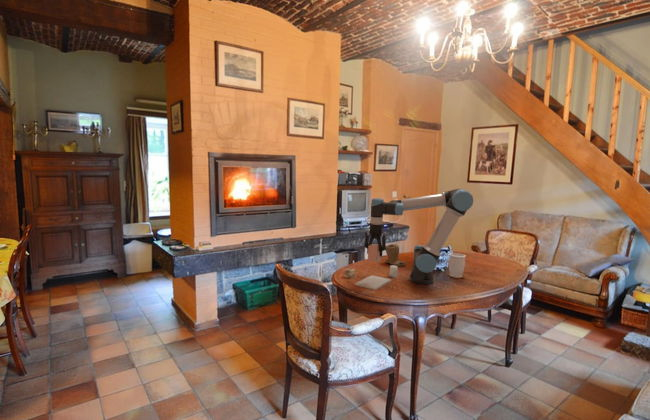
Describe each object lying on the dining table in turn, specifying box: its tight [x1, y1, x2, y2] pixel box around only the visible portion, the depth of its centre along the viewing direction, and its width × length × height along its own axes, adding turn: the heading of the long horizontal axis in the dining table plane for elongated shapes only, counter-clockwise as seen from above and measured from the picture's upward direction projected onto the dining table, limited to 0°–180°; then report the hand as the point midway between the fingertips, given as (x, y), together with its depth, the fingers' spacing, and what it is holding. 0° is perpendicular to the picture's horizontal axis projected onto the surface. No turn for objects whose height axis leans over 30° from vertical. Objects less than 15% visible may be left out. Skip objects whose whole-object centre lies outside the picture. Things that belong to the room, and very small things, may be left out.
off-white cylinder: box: [389, 264, 399, 279], centre depth 242 cm, size 5×5×7 cm
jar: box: [448, 252, 467, 279], centre depth 247 cm, size 11×10×15 cm
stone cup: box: [385, 244, 408, 267], centre depth 271 cm, size 15×12×15 cm
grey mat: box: [354, 275, 392, 291], centre depth 228 cm, size 14×22×1 cm, turn 145°
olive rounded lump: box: [343, 267, 356, 279], centre depth 238 cm, size 5×5×5 cm
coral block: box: [367, 243, 379, 264], centre depth 225 cm, size 6×6×10 cm
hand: (374, 260), depth 226 cm, fingers closed on coral block, 6 cm apart
